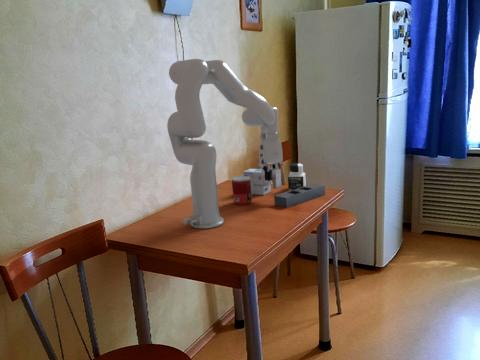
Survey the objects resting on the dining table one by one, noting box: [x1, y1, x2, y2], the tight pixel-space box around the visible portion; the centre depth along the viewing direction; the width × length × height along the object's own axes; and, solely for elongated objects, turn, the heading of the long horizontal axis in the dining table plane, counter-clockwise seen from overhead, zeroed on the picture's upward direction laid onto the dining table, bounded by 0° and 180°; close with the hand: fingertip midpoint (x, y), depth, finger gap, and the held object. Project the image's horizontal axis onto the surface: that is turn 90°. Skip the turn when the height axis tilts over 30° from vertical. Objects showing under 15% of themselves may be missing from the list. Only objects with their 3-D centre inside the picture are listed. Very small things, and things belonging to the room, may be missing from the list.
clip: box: [260, 167, 282, 190], centre depth 187 cm, size 9×3×8 cm, turn 40°
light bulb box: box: [242, 168, 272, 196], centre depth 202 cm, size 11×7×11 cm, turn 58°
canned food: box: [231, 175, 253, 206], centre depth 188 cm, size 8×8×11 cm
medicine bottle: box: [287, 162, 307, 191], centre depth 203 cm, size 7×7×12 cm
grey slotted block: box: [273, 183, 326, 209], centre depth 187 cm, size 24×7×4 cm, turn 130°
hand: (271, 179), depth 187 cm, fingers closed on clip, 3 cm apart
